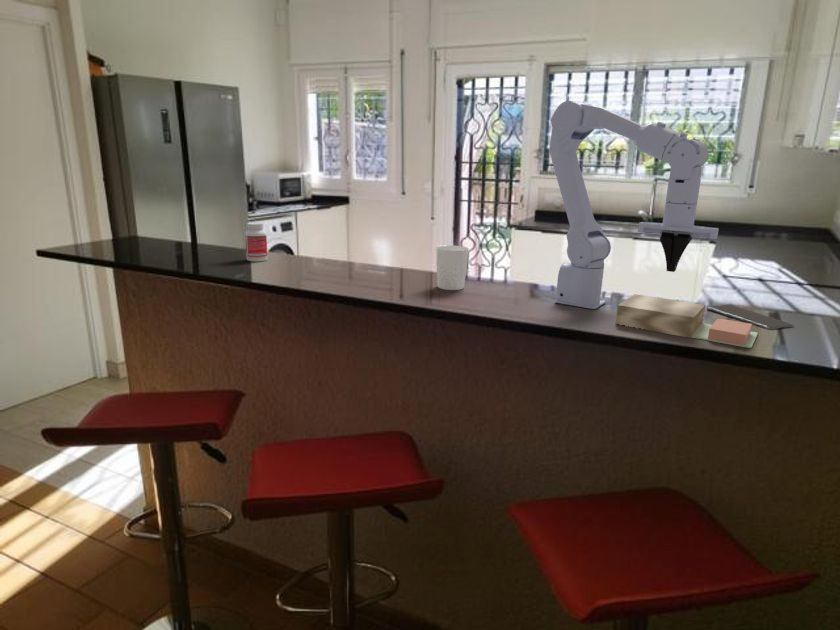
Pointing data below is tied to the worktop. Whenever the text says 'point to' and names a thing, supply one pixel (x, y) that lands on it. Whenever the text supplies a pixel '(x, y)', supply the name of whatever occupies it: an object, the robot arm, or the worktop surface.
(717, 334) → the pink rubber eraser
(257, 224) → the pill bottle
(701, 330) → the mat
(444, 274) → the white cup
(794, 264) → the worktop surface
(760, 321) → the smartphone
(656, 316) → the wooden block
